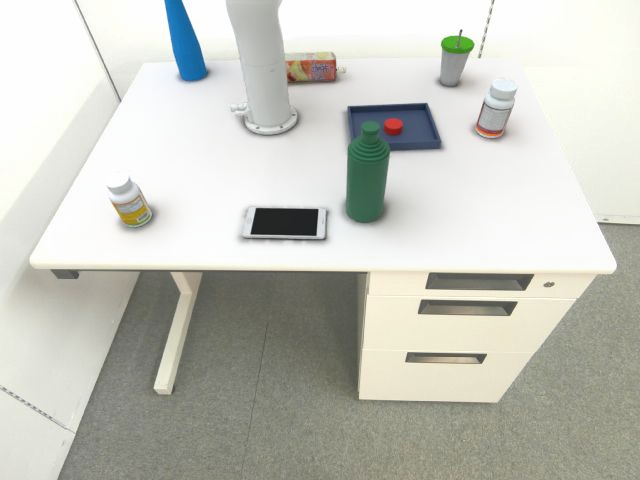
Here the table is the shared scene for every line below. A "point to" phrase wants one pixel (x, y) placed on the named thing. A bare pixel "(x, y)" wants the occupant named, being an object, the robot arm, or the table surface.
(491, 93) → the pill bottle
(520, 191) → the table surface
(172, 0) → the bottle
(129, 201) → the supplement bottle
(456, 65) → the cup
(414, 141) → the tray
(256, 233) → the smartphone
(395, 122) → the cap
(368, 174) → the water bottle
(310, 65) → the juice carton
